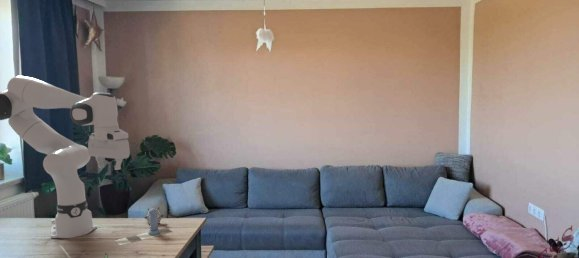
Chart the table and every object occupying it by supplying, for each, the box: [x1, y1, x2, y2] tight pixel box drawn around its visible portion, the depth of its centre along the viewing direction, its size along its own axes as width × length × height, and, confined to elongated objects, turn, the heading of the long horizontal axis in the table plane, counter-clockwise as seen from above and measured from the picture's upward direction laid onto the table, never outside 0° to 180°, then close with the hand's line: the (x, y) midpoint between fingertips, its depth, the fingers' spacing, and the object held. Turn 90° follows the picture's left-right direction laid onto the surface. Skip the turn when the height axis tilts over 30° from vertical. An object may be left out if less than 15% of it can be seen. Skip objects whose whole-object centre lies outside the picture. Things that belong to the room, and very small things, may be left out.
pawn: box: [148, 207, 160, 235], centre depth 180 cm, size 4×4×11 cm
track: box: [114, 227, 173, 246], centre depth 178 cm, size 7×22×1 cm, turn 130°
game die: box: [144, 207, 164, 225], centre depth 194 cm, size 9×8×10 cm
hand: (109, 168), depth 163 cm, fingers open, 8 cm apart
